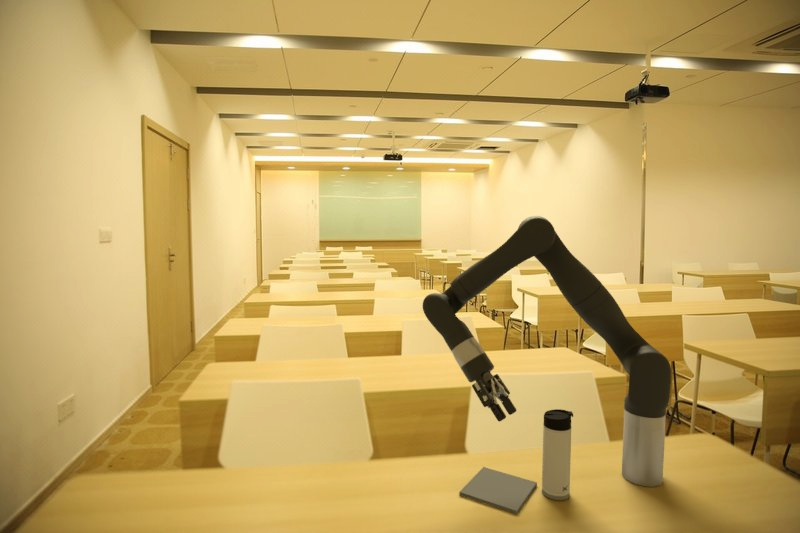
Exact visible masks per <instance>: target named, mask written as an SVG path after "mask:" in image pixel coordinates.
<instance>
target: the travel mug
mask: <svg viewBox="0 0 800 533" xmlns="http://www.w3.org/2000/svg"><path fill="white" fill-rule="evenodd" d="M572 418H574V413H573V411H569V410H566V409H561V408H560V409H550V410H547V411H545V412H544V414H543V428H542V429H543V431H542V467H541V468H542V471H541V473H542V474H541V475H542V476H541V492H542V494H543V495H544V496H545V497H547V498H548V499H550V500H553V501H559V502H560V501H565V500H568V498H570V492H571V491H570V490H571V489H570V488H571V457H572V455H571V454H572V452H571V451H572Z"/></svg>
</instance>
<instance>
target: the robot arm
mask: <svg viewBox="0 0 800 533" xmlns="http://www.w3.org/2000/svg"><path fill="white" fill-rule="evenodd" d="M533 257H534V258H535V259H536V260H537V261H538V262H539V263H540V264H541V265H542V266H543V267H544V268H545V269H546V271H547V272H548V273H549V275H550V277H551V278H552V280H553V281H554V283H555V285H556V286H557V288H558V290H559V291H560V293H561V294H562V295H563V297H564V298H565V300H566V301H567V303H568V304H569V305H570V307H571V308H572V309H573V310H574V311H575V312H576V313H577V315H578V316H579V317H580V318H581V319H582V320H583V321H584V322H585V324H586V325H588V327H590V328H591V330H592V331H594V332H595V333H597V334H598V336H600V337H601V338H602V339H603V340H604V341H605V342H606V343H607V345H608V346H609V347H610V349H611V350H612V351H613V353H614V354H615V357H616V358H617V359H618V360H619V363H621V365H622V366H623V369H624V370H625V372H626V374H628V380H629V381H628V390H627V391H628V393H627V395H626V396H625V398H624V401H623V402H624V403H623V404H624V405H623V406H624V407H623V429H622V430H623V431H622V433H623V434H622V435H623V436H622V456H621V457H622V458H621V459H622V460H621V475H622V477H623V478H624V479H626V480H627V481H628V482H630V483H633V484H635V485H638V486H643V487H648V488H649V487H651V488H653V487H658V486H661V485H662V484H663V483H664V482H663V481H664V480H663V479H664V464H665V463H664V458H665V439H666V438H665V435H666V416H667V415H666V414H667V413H666V412H667V407H668V405H669V402H670V396H671V395H670V394H671V383H672V366H671V363H670V361H669V360H668V358H667V357H666V356H665V355H664V354H663V353H661V352H660V351H659V350H657V349H656V348H655V347H653V346H652V345H651V344H650V343H649V342H648V341H647V340H645V338H643V337H642V336H641V335H640V334H639V333H638V332H637V330H635V328H634V327H633V326H632V325H631V324H630V323H629V321H628V319H627V318H626V315H625V314H624V312H623V310H622V309H621V307H620V305H619V304H618V302H617V301H616V299H615V298H614V297H613V295H612V294H611V292H610V291H609V290H608V289H607V288H606V287H605V285H603V283H602V281H601V280H599V279H598V277H596V276H595V274H593V272H591V270H590V269H589V268H588V267H586V266H585V265H584V264H583V262H581V261H580V260H578V258H577V257H575V255H573V253H572V252H571V251H570V250H569V248H568V247H567V246H566V244H564V242H563V241H562V240H561V238H560V236H559V235H558V233H557V231H556V229H555V227H554V226H553V224H552V222H550V220H548V219H547V218H546V217H543V216H541V215H540V216H539V215H532V216H529V217H526V218H525V219H523V220H522V221H521V223H520V224H519V226H518V228H517V229H516V231H514V233H513V234H512V235H511V236H510V237H509V238H508V239H507V240H506V241H505V242H504V243H502V244H501V246H499V247H497V248H496V249H495V250H493V251H492V252H491V253H489V254H488V255H486V256H485V257H483V258H482V259H481V258H480V260H478V261H476V262H475V263H474V264H472V265H471V266H469V267H468V268H467V269H465V270H463V272H461V273H460V274H459V275H458V276H456V277H455V278H454V279H453V280H452V281H451V283H450V286H449V287H448V288H446V290H445V291H443V292H442V293H437V292H433V293H430V294H428V295H426V296H425V297H424V299H423V301H422V311H423V313H424V315H425V318H427V320H428V321H429V323H430V324H431V325H432V326H433V328H434V329H435V330H436V331H437V332H438V333H439V334H440V335H441V337H442V338H443V340H444V341H445V343H446V345H447V346H448V348H449V350H450V352H451V353H452V355H453V358H454V360H455V362H456V363H457V365H458V366H459V368H460V369H461V372H462V373H463V375H464V376H465V377H466V379H467V381H468V382H469V383H473V384H471V387H472V389H473V391H474V392H475V394H476V396H477V398H478V399H479V402H480V403H481V404H482V406H483V407H484V408H488V409H490V410H491V412H492V414H493V415H494V417H495V419H496V421H498V422H502V421H504V420H505V419H506V418H507V415H506V413H505V412H504V410H503V409H502V407H501V405H502V406H503V407H504V409H505V411H506V412H507V413H508V415H510V416H511V415H513V414H514V413H516V412H517V408H516V406H515V405H514V403H513V401H512V400H511V398H510V394H511V392H510V390H509V389H508V388H507V386H506V385H505V383H504V381H503V380H502V378H501V377H500V375H499V374H497V373H496V374H494V375H493V374H492V371H493V370H494V369H495V365H494V364H493V363H492V361H491V359H490V357H489V356H488V354H487V353H486V351H485V350H484V348H483V347H482V345H481V344H480V343H479V342H478V340H477V339H476V338H475V336H474V335H473V334H472V331H471V330H470V328H469V327H468V326H467V325H466V323H465V322H464V321H463V320H461V319H460V318H459V317H458V316H457V315H456V314H457V313H458V312H459V311H460V310H462V308H464V306H466V304H467V303H468V302H469V301H471V300H472V299H474V298H475V297H477V296H478V295H479V294H481V293H482V292H484V291H485V290H487V288H489V287H490V286H491V285H493V284H494V283H495V282H496V281H498V280H499V279H500V278H501V277H503V276H504V275H505V274H507V273H508V272H509V271H510V270H512V269H515V267H517V266H518V265H520V264H522V263H524V262H526V261H527V260H529V259H531V258H533ZM474 382H475V383H474ZM497 399H498V400H497ZM498 401H499V402H500V403H501V405H500V404H499V403H498Z"/></svg>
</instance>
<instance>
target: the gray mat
mask: <svg viewBox="0 0 800 533" xmlns="http://www.w3.org/2000/svg"><path fill="white" fill-rule="evenodd" d="M537 484H538V482H536V481H534V480H530V479H526V478H524V477H520V476H516V475H513V474H509V473H506V472H502V471H499V470H496V469H491V468H488V467H485V466H483V467H482V468H481V469H480V470H479V471H478V472H477V473H476V474H475V475H474V476H473V477H472V478H471V479H470V480H469V481H468V482H467V484H465V485H464V487H463V488H462V489H460V491H459V494H458V495H459V496H461V497H464V498H468V499H471V500H473V501H476V502H479V503H483V504H484V505H488V506H491V507H493V508H497V509H500V510H502V511H506V512H508V513H509V512H510V513H511V514H515V515H518V514H519V512H520V510H521V509H522V507H523V506H524V504H525V503H526V502H527V500H528V499H529V498H530V496H531V494H532V493H533V492H534V490H535V489H536V487H537V486H538V485H537Z"/></svg>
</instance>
